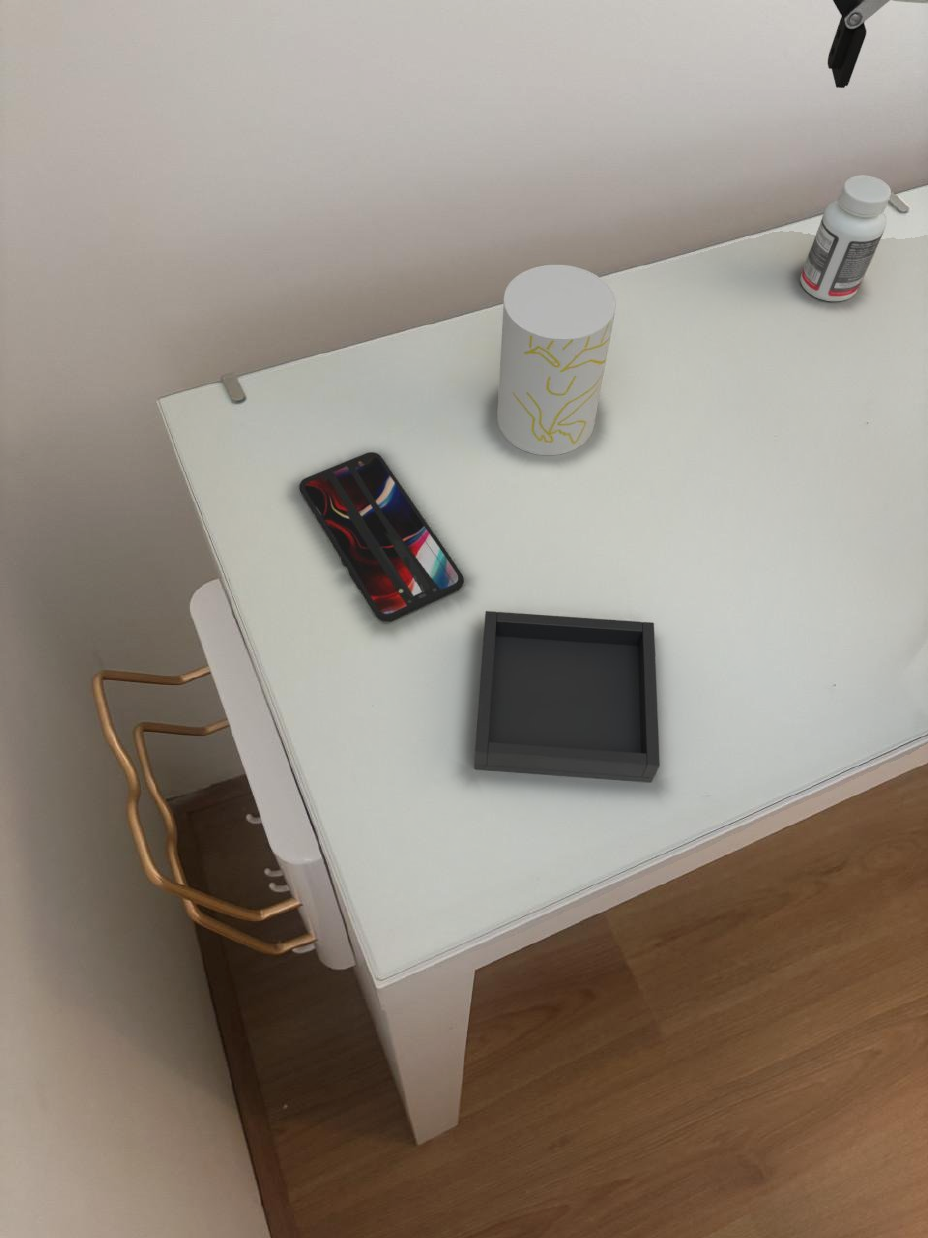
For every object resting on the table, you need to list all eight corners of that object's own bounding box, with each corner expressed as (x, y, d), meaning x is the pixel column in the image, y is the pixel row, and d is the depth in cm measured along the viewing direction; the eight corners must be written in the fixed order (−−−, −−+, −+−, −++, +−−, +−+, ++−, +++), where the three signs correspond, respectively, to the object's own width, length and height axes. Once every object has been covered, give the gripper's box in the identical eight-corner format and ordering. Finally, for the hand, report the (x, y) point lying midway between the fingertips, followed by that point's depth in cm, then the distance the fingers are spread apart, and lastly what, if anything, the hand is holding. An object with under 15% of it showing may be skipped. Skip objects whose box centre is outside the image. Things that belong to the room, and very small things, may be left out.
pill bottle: (861, 275, 87) (905, 178, 79) (851, 309, 84) (894, 213, 76) (805, 260, 88) (842, 163, 80) (793, 294, 85) (829, 197, 77)
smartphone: (376, 448, 74) (468, 581, 67) (376, 453, 74) (468, 587, 67) (293, 481, 72) (380, 623, 65) (295, 487, 72) (380, 628, 66)
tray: (646, 642, 65) (654, 622, 63) (651, 782, 60) (659, 766, 57) (484, 631, 66) (485, 610, 63) (474, 769, 60) (474, 752, 58)
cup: (513, 463, 74) (523, 348, 64) (485, 393, 78) (490, 274, 68) (608, 444, 75) (632, 327, 65) (575, 376, 79) (593, 256, 69)
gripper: (1162, -240, 54) (1011, 60, 69) (868, -253, 55) (780, 48, 70) (1206, -191, 51) (1036, 117, 65) (889, -205, 51) (791, 103, 66)
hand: (904, 81), depth 67 cm, fingers open, 9 cm apart
